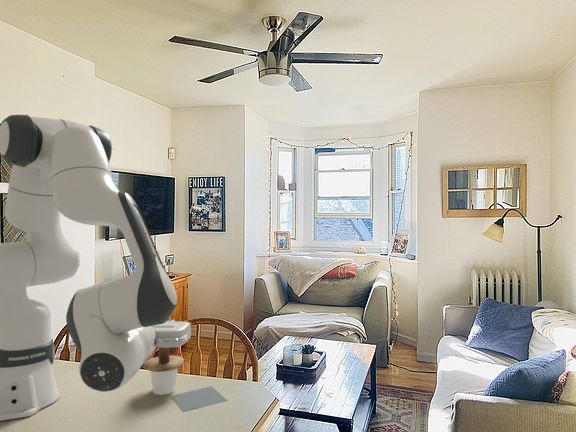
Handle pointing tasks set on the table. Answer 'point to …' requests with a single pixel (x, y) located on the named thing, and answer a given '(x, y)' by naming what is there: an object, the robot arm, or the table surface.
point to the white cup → (164, 381)
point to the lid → (163, 361)
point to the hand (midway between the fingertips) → (151, 322)
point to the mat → (197, 398)
